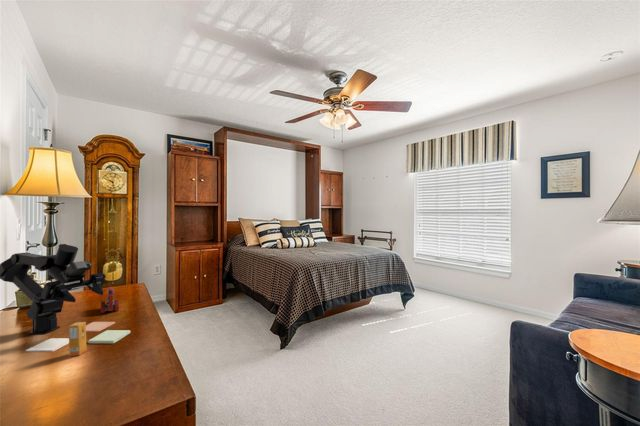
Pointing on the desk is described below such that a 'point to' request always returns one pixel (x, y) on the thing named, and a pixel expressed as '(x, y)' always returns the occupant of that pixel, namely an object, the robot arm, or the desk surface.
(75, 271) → the robot arm
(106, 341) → the sage tile
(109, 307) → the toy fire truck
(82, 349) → the supplement box
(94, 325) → the terracotta tile
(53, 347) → the white tile
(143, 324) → the desk surface
